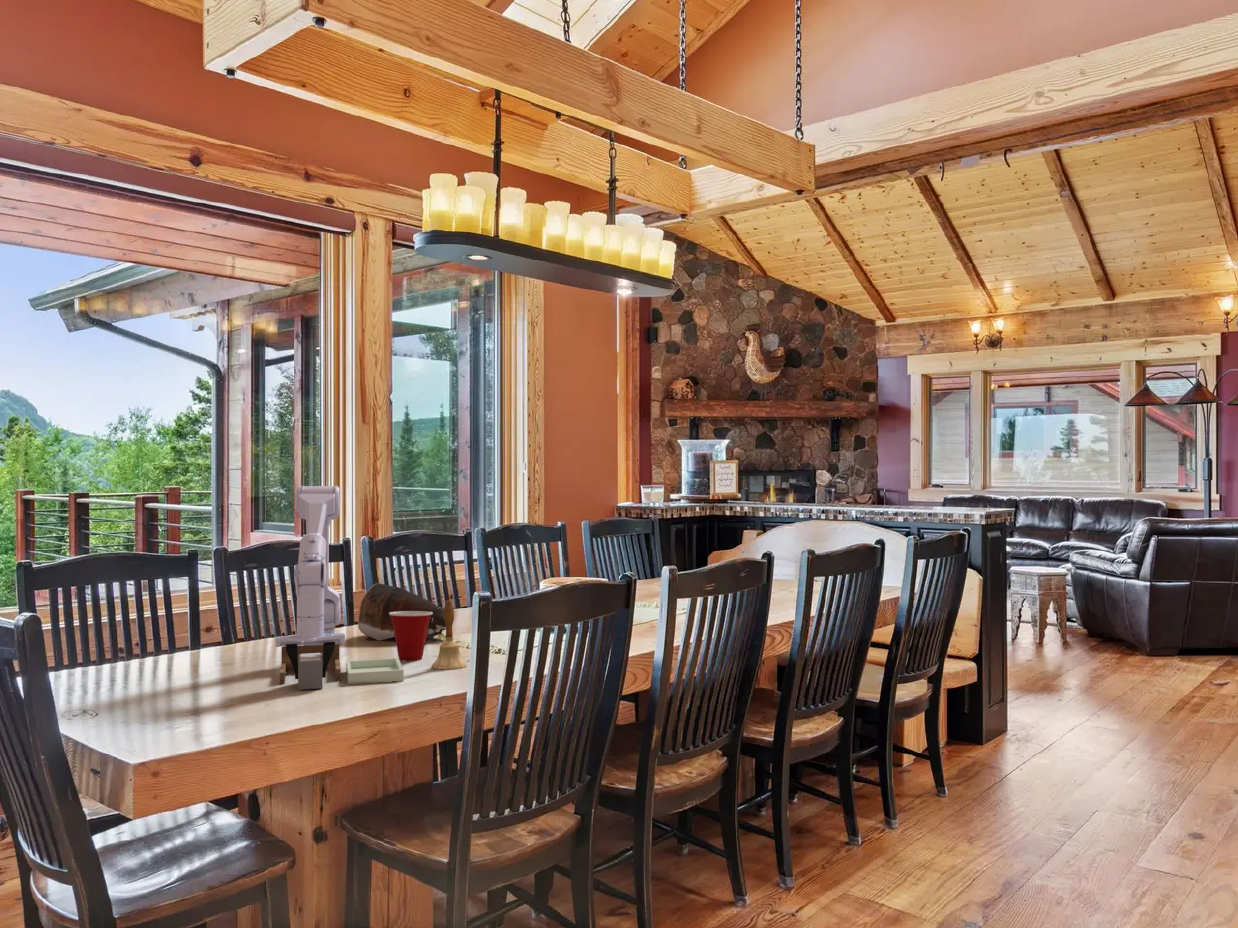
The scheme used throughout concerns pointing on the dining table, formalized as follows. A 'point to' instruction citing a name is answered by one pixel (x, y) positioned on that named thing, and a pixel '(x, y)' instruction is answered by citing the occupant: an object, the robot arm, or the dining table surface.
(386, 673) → the tray
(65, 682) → the dining table surface
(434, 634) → the clay pot
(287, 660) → the dock
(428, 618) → the plastic cup
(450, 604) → the hand bell
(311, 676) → the grey upright block
